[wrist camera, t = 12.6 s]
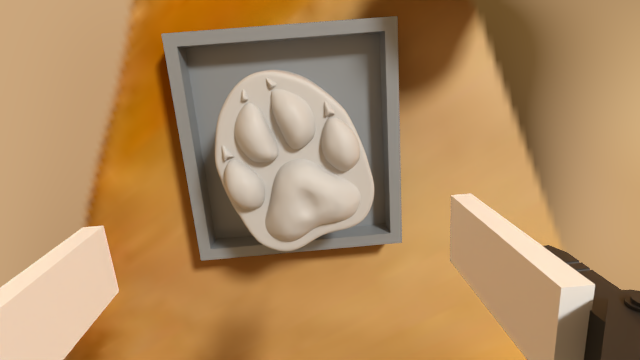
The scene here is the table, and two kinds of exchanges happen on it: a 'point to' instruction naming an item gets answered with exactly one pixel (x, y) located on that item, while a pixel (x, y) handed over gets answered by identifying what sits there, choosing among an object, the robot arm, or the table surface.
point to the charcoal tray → (321, 68)
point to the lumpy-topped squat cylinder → (291, 160)
